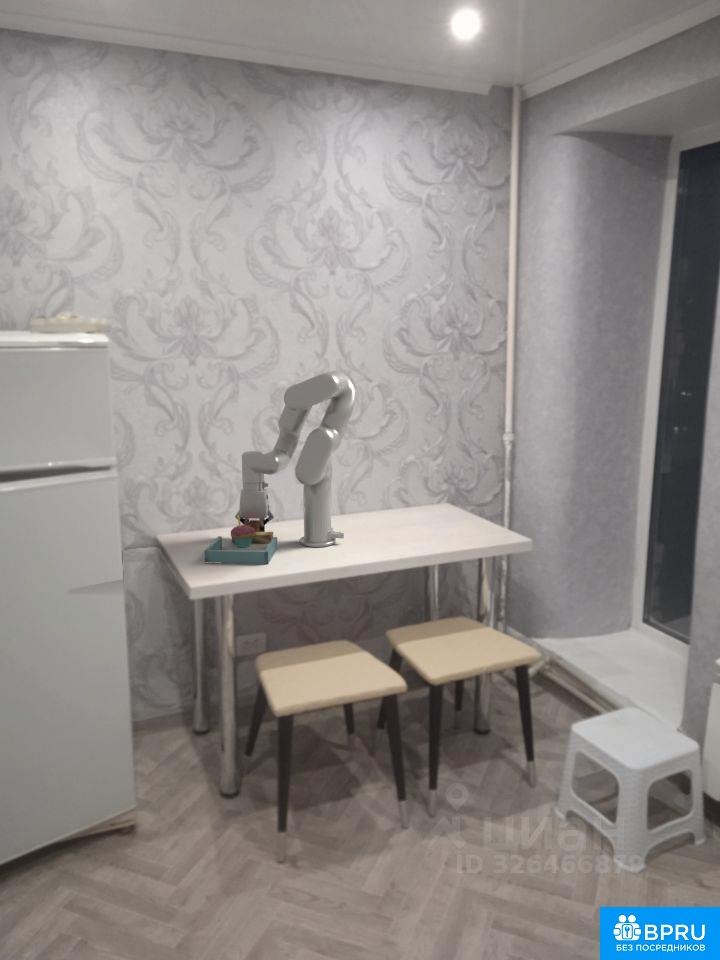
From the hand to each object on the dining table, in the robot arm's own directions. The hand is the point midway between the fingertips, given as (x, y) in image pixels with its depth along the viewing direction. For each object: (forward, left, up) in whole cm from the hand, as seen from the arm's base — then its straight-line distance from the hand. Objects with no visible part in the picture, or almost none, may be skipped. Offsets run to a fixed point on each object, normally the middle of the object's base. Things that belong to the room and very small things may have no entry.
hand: (255, 535), depth 260 cm
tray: (0, +20, -1) cm, 20 cm away
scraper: (0, +2, -1) cm, 2 cm away
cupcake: (+2, +9, -1) cm, 9 cm away
